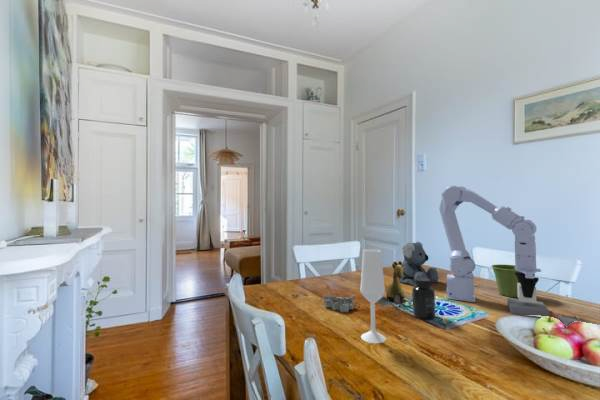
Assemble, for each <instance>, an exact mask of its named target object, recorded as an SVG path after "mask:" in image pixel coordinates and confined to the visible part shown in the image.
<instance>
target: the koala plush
mask: <svg viewBox="0 0 600 400" xmlns="http://www.w3.org/2000/svg"><path fill="white" fill-rule="evenodd" d="M401 249H402V250H401V251H402V254H403V262H402V264H404V265H403V266H402V268H403V276H402V278H401V279H400V278H399V281H400V283H402V284H409V285H411V286H413V287H415V286H416V285H415V279H416V278H427V279H430V280H431V284H432V283H433V284H436V283H439V273H438V270H437V268H436V267H429V268H428V269H427V270H425V268H424V266H422V265H424V264H425V263H426V261H427V262H428V261H429V255H428V254H427V253H426V251H425V249H424V247H423V243H422V242H421V241H416V242H406V243H404V245H403V246H402V247H401Z"/></svg>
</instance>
